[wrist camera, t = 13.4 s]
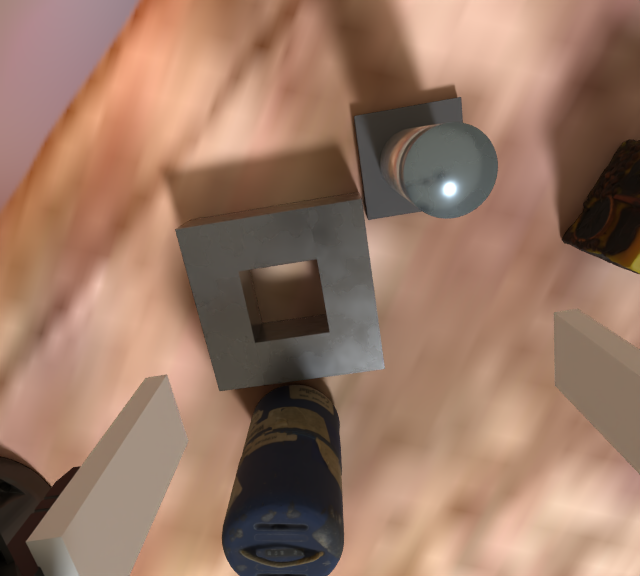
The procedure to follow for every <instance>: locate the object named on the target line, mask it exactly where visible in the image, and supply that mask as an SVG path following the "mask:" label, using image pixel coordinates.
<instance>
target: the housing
mask: <svg viewBox="0 0 640 576" xmlns="http://www.w3.org/2000/svg"><path fill="white" fill-rule="evenodd" d="M175 231H176V235H177V238H178V242H179V246H180V249H181V253H182V256H183V260H184V264H185V267H186V271H187V275H188V278H189V282H190V286H191V289H192V293H193V297H194V300H195V304H196V307H197V311H198V315H199V318H200V322H201V326H202V329H203V333H204V337H205V340H206V344H207V348H208V351H209V355H210V359H211V362H212V366H213V369H214V373H215V377H216V380H217V384H218V388H219V391H225V390H232V389H240V388H247V387H254V386H262V385H269V384H277V383H284V382H291V381H299V380H306V379H314V378H321V377H328V376H336V375H343V374H350V373H358V372H365V371H373V370H380V369H385V367H384V359H383V352H382V345H381V337H380V330H379V323H378V315H377V308H376V301H375V293H374V286H373V279H372V271H371V264H370V257H369V249H368V242H367V235H366V227H365V220H364V213H363V205H362V199H361V196H360V194H359V192H356V193H350V194H344V195H338V196H332V197H326V198H320V199H314V200H308V201H302V202H296V203H290V204H284V205H278V206H272V207H266V208H260V209H254V210H248V211H241V212H235V213H229V214H223V215H217V216H211V217H205V218H199V219H193V220H190V221H188V222H187V223H185V224H183V225H182V226H180V227H178V228H177V229H175ZM315 259H317V262H318V268H319V274H320V279H321V285H322V291H323V296H324V302H325V308H326V314H324V315H317V316H310V317H304V318H297V319H290V320H283V321H276V322H269V323H263V324H262V321H261V316H260V312H259V307H258V303H257V298H256V294H255V290H254V285H253V281H252V276H251V272H250V270H251V269H257V268H264V267H270V266H277V265H283V264H289V263H296V262H302V261H309V260H315Z"/></svg>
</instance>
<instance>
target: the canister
mask: <svg viewBox="0 0 640 576" xmlns="http://www.w3.org/2000/svg"><path fill="white" fill-rule="evenodd" d="M339 429H340V422H339V417H338V413H337V411H336V409H335V407H334V405H333V404H332V402H331V401H330V400H329V399H328V398H327V397H326V396H325V395H324V394H322V393H321V392H319V391H318V390H316V389H314V388H311V387H309V386H304V385H287V386H282V387H279V388H277V389H274V390H273V391H271V392H269V393H268V394H266V395H265V396H264V397H263V398H262V399H261V400H260V402H259V403H258V405H257V406H256V408H255V410H254V413H253V416H252V419H251V423H250V427H249V431H248V434H247V438H246V442H245V446H244V449H243V453H242V457H241V459H240V462H239V466H238V470H237V473H236V478H235V481H234V485H233V489H232V493H231V497H230V501H229V505H228V509H227V512H226V516H225V520H224V524H223V532H222V545H223V550H224V553H225V556H226V558H227V560H228V562H229V564H230V566H231V567H232V568H233V570H234V571H235V572H236V573H237V574H238V575H240V576H327V575H329V574H330V573H331V572H332V570H333V569H334V568H335V567H336V565H337V563H338V561H339V560H340V557H341V555H342V551H343V546H344V522H343V502H342V478H341V475H342V463H341V445H340V435H339Z"/></svg>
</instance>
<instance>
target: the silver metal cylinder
mask: <svg viewBox="0 0 640 576" xmlns="http://www.w3.org/2000/svg"><path fill="white" fill-rule="evenodd" d="M380 170H381V173H382V176H383V178H384V180H385V182H386V183H387V184H388V185H389V186H390V187H391V188H392V189H394V190H395V191H396V192H398V193H399V194H400V195H402V196H403V197H404V198H406V199H407V200H408V201H409V202H411V203H412V204H413V205H415V206H416V207H417V208H419V209H420V210H422V211H423V212H425V213H426V214H428V215H431V216H434V217H438V218H456V217H460V216H463V215H466V214H468V213H470V212H471V211H473V210H475V209H476V208H477V207H478V206H480V205H481V204H482V203H483V202H484V201H485V200H486V198H487V197H488V196H489V194H490V192H491V191H492V189H493V186H494V184H495V181H496V177H497V172H498V161H497V155H496V151H495V149H494V146H493V145H492V143H491V141H490V140H489V138H488V137H487V136H486V135H485V134H484V133H483V132H482V131H480V130H479V129H478V128H476V127H474V126H472V125H469V124H465V123H459V122H452V123H443V124H436V125H429V126H422V127H414V128H408V129H404V130H401V131H399V132H397V133H396V134H394V135H393V136H392V137H391V138H390V139H389V140H388V141H387V142H386V144H385V146H384V148H383V150H382V153H381V157H380Z"/></svg>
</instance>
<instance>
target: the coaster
mask: <svg viewBox="0 0 640 576" xmlns="http://www.w3.org/2000/svg"><path fill="white" fill-rule="evenodd" d="M354 121H355V129H356V136H357V143H358V151H359V158H360V166H361V173H362V181H363V188H364V196H365V203H366V211H367V218H368V220H371V219H377V218H383V217H389V216H395V215H402V214H408V213H414V212H420V211H422V210H420V209H419V208H417V207H416V206H415V205H413V204H412V203H411V202H409V201H408V200H407V199H406V198H404V197H403V196H402V195H400V194H399V193H398V192H396V191H395V190H394V189H392V188H391V187H390V186H389V185H388V184H387V183H386V182H385V180H384V178H383V176H382V173H381V170H380V157H381V153H382V150H383V148H384V146H385V144H386V142H387V141H388V140H389V139H390V138H391V137H392V136H393V135H394V134H396V133H397V132H399V131H401V130H404V129H408V128H414V127H422V126H429V125H436V124H443V123H452V122H459V123H463V119H462V103H461V97H458V98H453V99H447V100H441V101H436V102H430V103H425V104H419V105H414V106H408V107H402V108H397V109H391V110H386V111H380V112H375V113H369V114H363V115H358V116H354Z"/></svg>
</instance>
